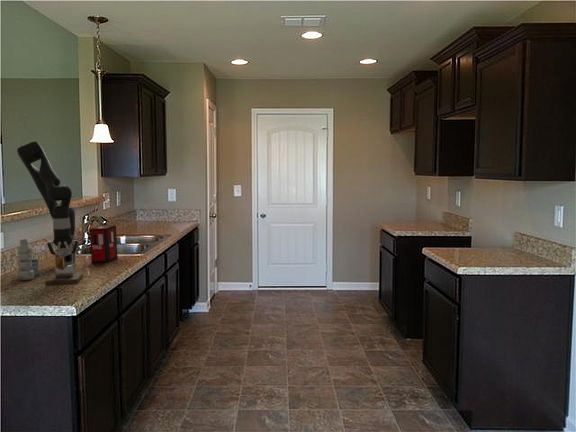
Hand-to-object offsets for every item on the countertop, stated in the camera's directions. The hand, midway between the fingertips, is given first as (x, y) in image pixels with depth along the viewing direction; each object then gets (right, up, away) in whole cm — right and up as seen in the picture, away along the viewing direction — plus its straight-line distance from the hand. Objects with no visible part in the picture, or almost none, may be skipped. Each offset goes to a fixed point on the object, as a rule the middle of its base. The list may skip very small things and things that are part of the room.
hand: (64, 262), depth 239 cm
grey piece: (0, -7, 0) cm, 7 cm away
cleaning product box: (+1, -4, +52) cm, 52 cm away
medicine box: (-23, -9, +12) cm, 27 cm away
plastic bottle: (-20, -9, +4) cm, 23 cm away
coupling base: (0, -9, +1) cm, 9 cm away
